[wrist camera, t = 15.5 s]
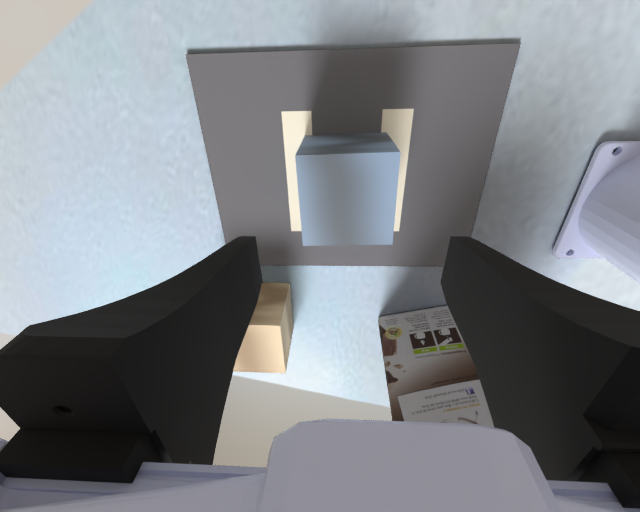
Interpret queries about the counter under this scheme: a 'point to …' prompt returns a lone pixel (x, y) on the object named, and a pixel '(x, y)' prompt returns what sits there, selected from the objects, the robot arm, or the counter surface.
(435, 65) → the letter mat
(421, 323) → the coffee box
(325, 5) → the counter surface
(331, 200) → the slate blue cube
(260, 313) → the oak block
